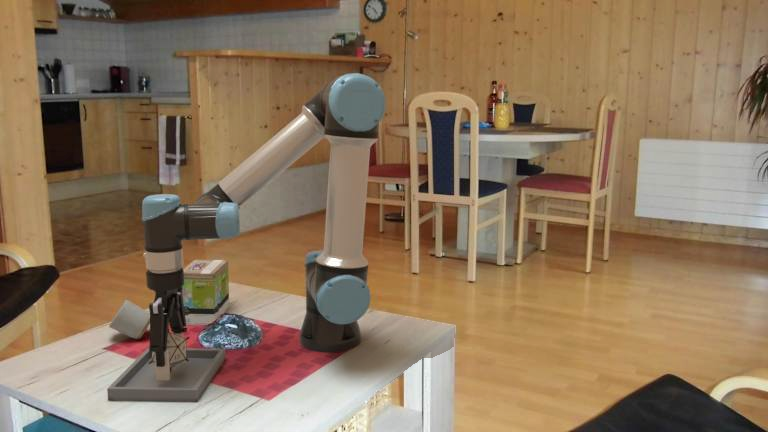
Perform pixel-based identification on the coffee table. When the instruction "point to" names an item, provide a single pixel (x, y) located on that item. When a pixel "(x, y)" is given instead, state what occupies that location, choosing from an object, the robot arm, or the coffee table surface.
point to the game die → (175, 349)
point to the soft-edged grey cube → (131, 320)
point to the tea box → (205, 291)
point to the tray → (181, 387)
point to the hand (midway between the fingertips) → (170, 370)
